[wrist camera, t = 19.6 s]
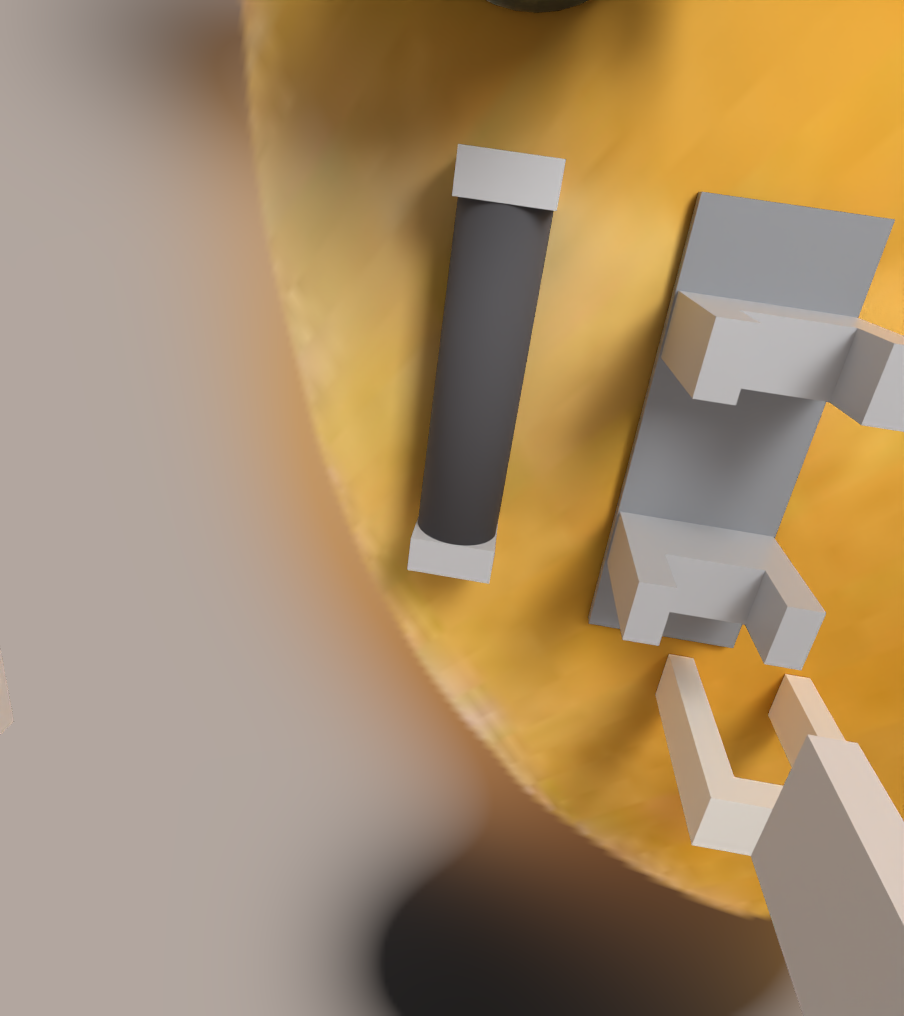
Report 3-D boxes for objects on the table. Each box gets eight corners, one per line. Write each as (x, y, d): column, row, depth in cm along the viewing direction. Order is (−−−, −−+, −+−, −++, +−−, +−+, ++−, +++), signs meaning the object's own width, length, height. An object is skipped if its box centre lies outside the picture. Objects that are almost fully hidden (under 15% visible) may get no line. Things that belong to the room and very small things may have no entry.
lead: (467, 149, 30) (458, 143, 26) (561, 163, 30) (565, 159, 26) (419, 532, 38) (407, 569, 34) (493, 544, 38) (489, 583, 34)
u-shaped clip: (669, 654, 39) (711, 797, 30) (810, 678, 39) (897, 831, 30) (655, 694, 41) (691, 845, 31) (792, 718, 40) (870, 877, 31)
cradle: (698, 191, 29) (749, 192, 22) (888, 219, 29) (998, 227, 22) (587, 617, 39) (599, 709, 32) (730, 641, 38) (773, 739, 32)
